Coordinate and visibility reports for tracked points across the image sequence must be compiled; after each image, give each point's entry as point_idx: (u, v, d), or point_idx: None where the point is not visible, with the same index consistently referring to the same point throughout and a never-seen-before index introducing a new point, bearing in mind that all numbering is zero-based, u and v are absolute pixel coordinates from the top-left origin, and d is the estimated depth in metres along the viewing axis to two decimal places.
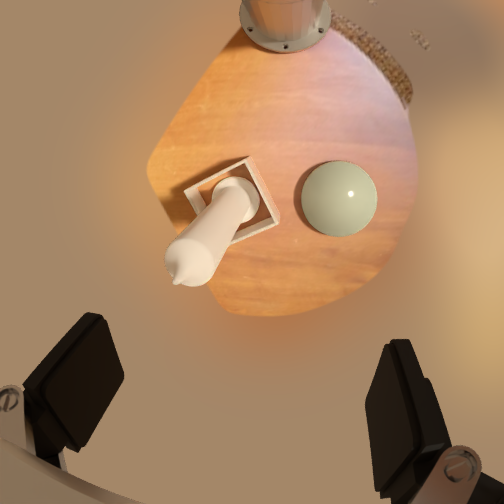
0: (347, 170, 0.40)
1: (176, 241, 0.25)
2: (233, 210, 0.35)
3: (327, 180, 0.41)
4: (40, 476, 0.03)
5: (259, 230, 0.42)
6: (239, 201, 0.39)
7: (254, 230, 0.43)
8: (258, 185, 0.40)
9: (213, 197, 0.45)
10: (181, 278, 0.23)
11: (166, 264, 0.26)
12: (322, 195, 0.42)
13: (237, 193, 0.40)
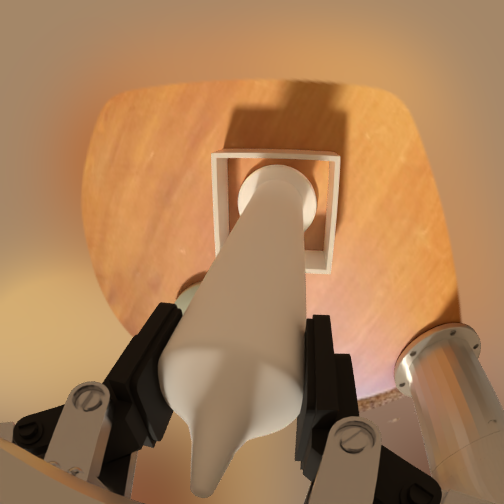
0: None
1: (300, 407, 0.08)
2: None
3: None
4: (40, 476, 0.03)
5: (217, 237, 0.26)
6: None
7: (220, 226, 0.26)
8: None
9: (298, 176, 0.26)
10: None
11: (252, 362, 0.07)
12: None
13: None
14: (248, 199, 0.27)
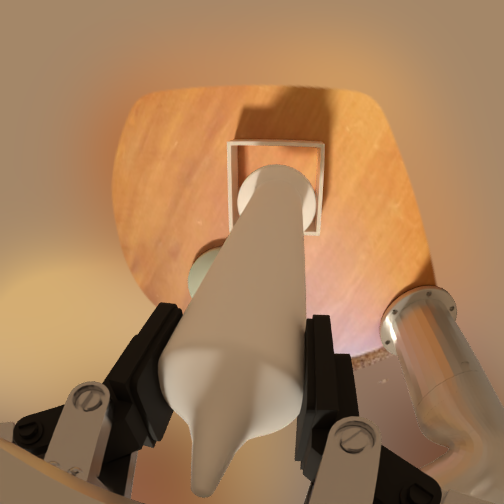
0: None
1: None
2: None
3: None
4: (40, 476, 0.03)
5: (230, 207, 0.33)
6: None
7: (232, 198, 0.33)
8: None
9: (298, 176, 0.26)
10: None
11: (252, 362, 0.07)
12: None
13: None
14: (248, 199, 0.27)
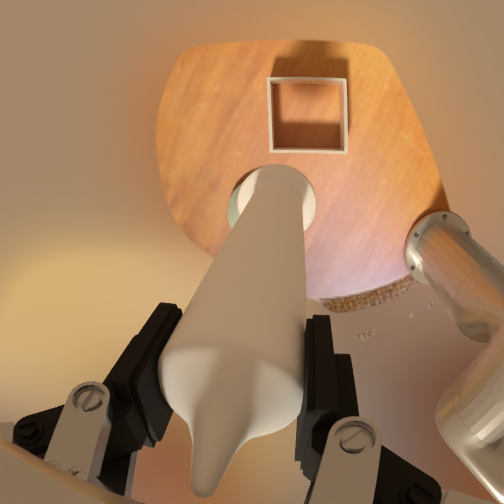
0: None
1: None
2: None
3: None
4: (40, 476, 0.03)
5: (271, 130, 0.36)
6: None
7: (272, 124, 0.36)
8: (317, 151, 0.37)
9: (298, 176, 0.26)
10: None
11: (253, 361, 0.07)
12: None
13: None
14: (248, 199, 0.27)
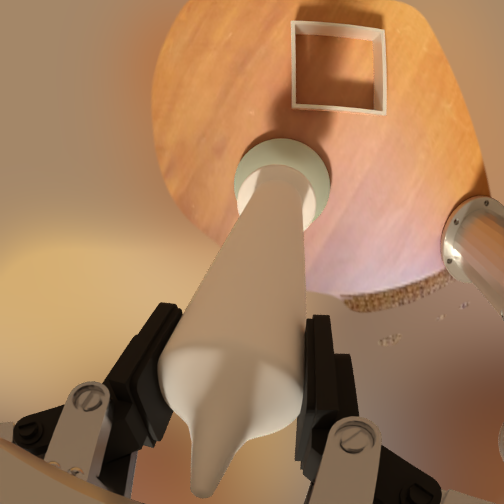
0: None
1: None
2: None
3: (311, 183, 0.34)
4: (40, 476, 0.03)
5: (294, 81, 0.27)
6: None
7: (295, 75, 0.27)
8: (350, 109, 0.28)
9: (298, 176, 0.26)
10: None
11: (252, 362, 0.07)
12: None
13: None
14: (248, 199, 0.27)
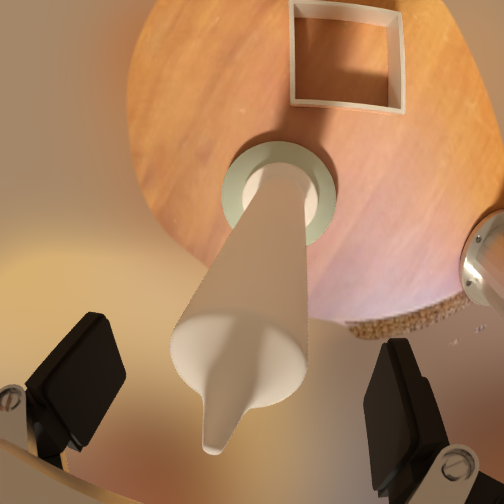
0: (313, 227, 0.30)
1: (303, 375, 0.09)
2: None
3: None
4: (40, 476, 0.03)
5: (293, 71, 0.22)
6: None
7: (294, 63, 0.22)
8: (361, 106, 0.22)
9: (300, 174, 0.27)
10: None
11: (260, 328, 0.08)
12: None
13: None
14: (252, 195, 0.28)
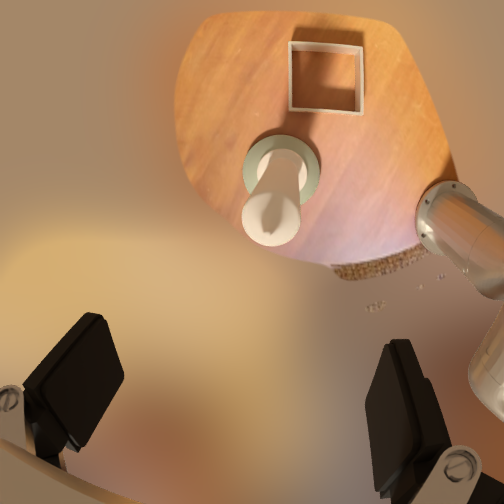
0: (305, 191, 0.44)
1: (299, 222, 0.23)
2: None
3: None
4: (40, 476, 0.03)
5: (290, 89, 0.36)
6: None
7: (291, 84, 0.36)
8: (334, 111, 0.36)
9: (295, 155, 0.41)
10: None
11: (281, 197, 0.22)
12: None
13: None
14: (264, 170, 0.42)
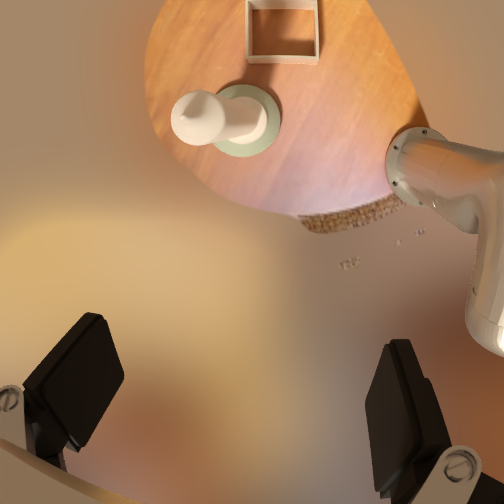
0: (266, 138, 0.42)
1: (224, 117, 0.22)
2: None
3: None
4: (40, 476, 0.03)
5: (247, 40, 0.34)
6: None
7: (248, 36, 0.34)
8: (289, 57, 0.35)
9: (255, 102, 0.40)
10: (184, 122, 0.20)
11: (205, 94, 0.21)
12: None
13: (246, 133, 0.38)
14: None
